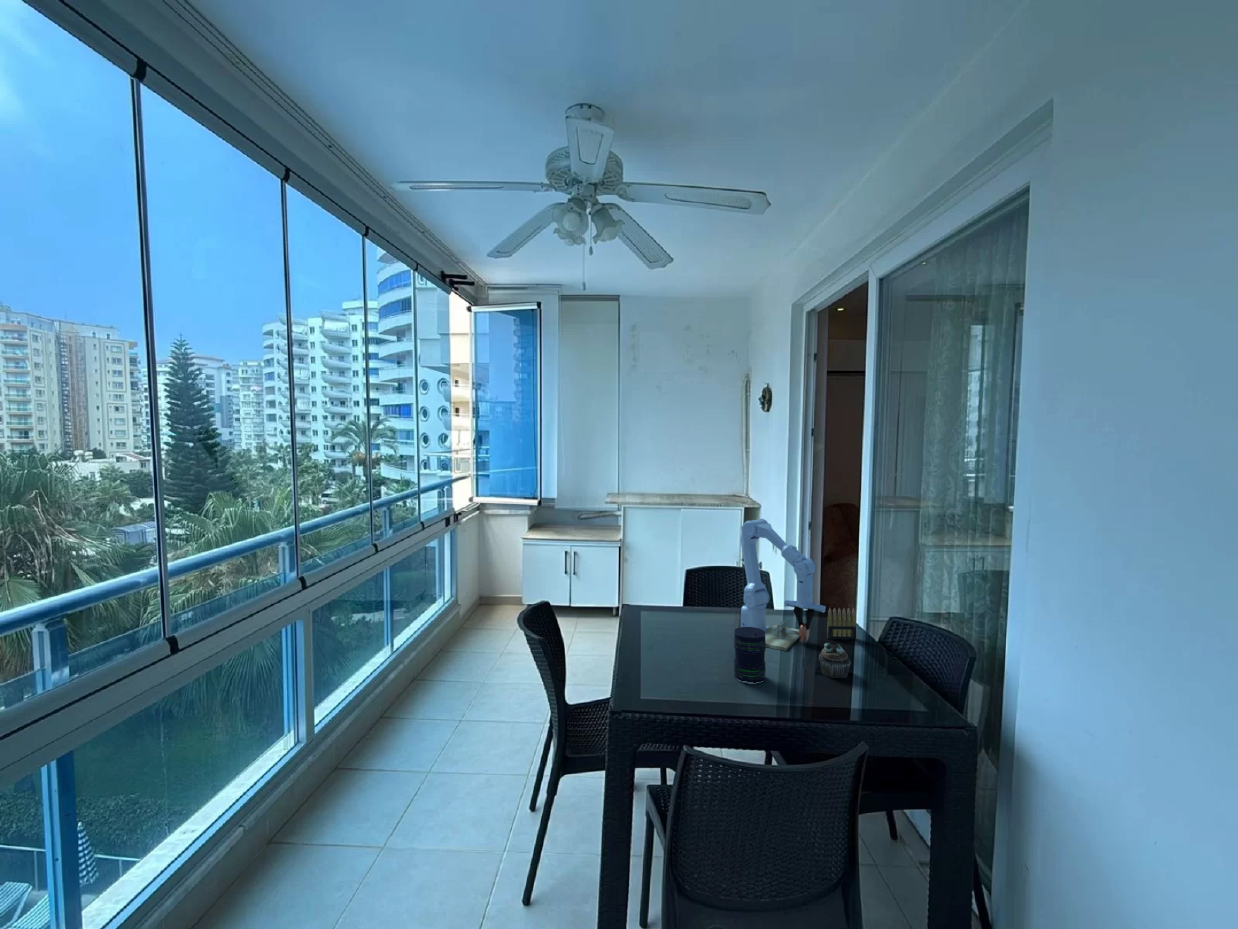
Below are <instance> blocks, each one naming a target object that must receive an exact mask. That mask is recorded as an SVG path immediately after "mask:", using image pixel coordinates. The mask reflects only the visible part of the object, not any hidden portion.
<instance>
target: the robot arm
mask: <svg viewBox="0 0 1238 929" xmlns="http://www.w3.org/2000/svg"><path fill="white" fill-rule="evenodd" d="M740 527H741V528H740V529H741V536H740V545H741V546H740V547H741V552H742V557H743V563H744V569H745V570H744V571H745V577H746V583H747V585H746V586H745V587H744V589H743V592H744V594H743V603H744V605H742V606H741V610H740V627H754V628H759V629H762V630H763V631H766V630H767V629H768V628H770V626H768V625H767V624H766V623H767V621H766V620H767V619H766V618H767V616H766V615H767V614H766V613H767V612H766V611H767V610H766V609H767V604H768V603H769V602H770V597H771V596H770V595H769V592H768V590H767V586H766V584H764V583H763V582H762V578H761V573H760V565H759V560H758V559H759V558H758V554H757V553H758V552H757V547H756V543H757V541H758V540H759V539H761V538H762V539H763V538H764V539H766V540H768V541H769V542H770V543H771V544H772V545H773V546H774V547H776V548H777V549H778V550H779V551H780V555H781V557H782V558H783V559H784V560H785V561H786V562H787V563H788V564H789V565H791V566H792V567H793V571H794V574H795V575H796V576H795V577H796V600H788V599H786V600H784V602H783V604H784V607H791V608H793V609H792V610H793V613H794V615H795V619H796V620H797V624H798V629H799V628H800V624H801V622H804V621H803V614H804V610H806V611H805V616H806V618H805V619H806V621H805V622H806V629H809V628H811V623H812V619H813V617H814V615H815V613H816V612H820V613H825V612H826V605H821V604H818V603H813V602H814V601H813V600H814V599H813V598H814V573H815V572H816V570H817V566H816V563H815V561H814V560H813V559H811V558H808V557H807V556H805V555H804V554H802V552H800V551H799V550H798V547H797V546H795V545H792V544H787V543H786V541H785V540H783V539H782V537H781V536H780V535H779V534H778V533H777V532H776V531H775V530H774V529H773V527H772V525H771V523H769V522H768V521H767V520H766V519H764V518H758V519H753V520H746V521H745V522H744V523H742V526H740Z"/></svg>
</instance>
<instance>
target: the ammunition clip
mask: <svg viewBox="0 0 1238 929" xmlns="http://www.w3.org/2000/svg"><path fill="white" fill-rule="evenodd" d="M846 613H847V614H846ZM856 623H857V618H856V610H855V608H852V610H850V608H849V607H848V608H847V611H846V609H845V607H843V608H842V610H841V608H840V607H838V609H836V607H834V608H833V610H832V609H831V607H829V609H828V612H827V624H826V636H825V637H827V638H828V639H827V638H826V639H827V640H835V639H841V640H843V641H851V640H852V639H856V640H857V626H856V625H857V624H856ZM849 639H851V640H849ZM841 640H840V641H841ZM852 641H853V640H852Z"/></svg>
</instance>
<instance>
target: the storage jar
mask: <svg viewBox="0 0 1238 929" xmlns="http://www.w3.org/2000/svg"><path fill="white" fill-rule="evenodd" d="M765 634H766V633H765V631H763V630H762V629H759V628H754V627H741V626H739V627H737V628H735V629H734V637H733V642H734V644H733V647H734V659H733V661H734V662H733V671H734V675H733V677H734V676H735V678H737V679H739V680H741V681H747V682H753V683H756V682H761V681H764V680H765V681H766V672H767V671H766V660H765V653H766V649H767V647H765V645H766V640H765ZM735 678H734V679H735ZM765 681H764V682H765Z"/></svg>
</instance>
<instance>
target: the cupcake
mask: <svg viewBox="0 0 1238 929" xmlns="http://www.w3.org/2000/svg"><path fill="white" fill-rule="evenodd" d="M823 647H824V648H822V650H821V651H820V653H819V654H818V660H819V664H820V669H821V673H822V674H825V675H827V676H829V677H828V678H830V677H831V678H830V679H835V678H844V679H846V678H847V677H848V676H849V671H850V666H851V662H852V661H851V659H850V658H849V656H848V654H847V652H846V650H844V649H843V647H842V646H841V644H840V643H838V642H836V643H833V642H831V641H826V643H824V645H823ZM825 675H824V676H825ZM827 676H826V677H827Z"/></svg>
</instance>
